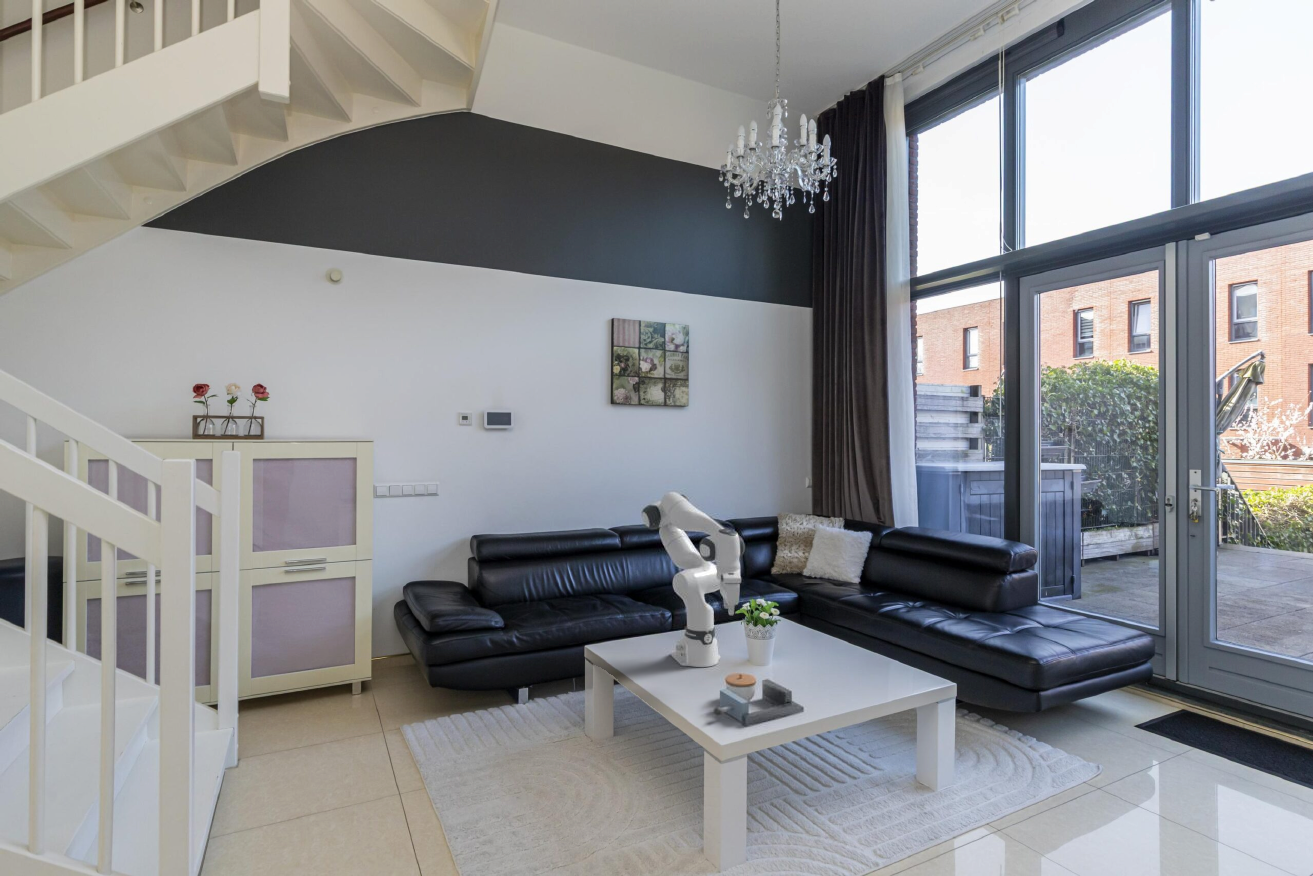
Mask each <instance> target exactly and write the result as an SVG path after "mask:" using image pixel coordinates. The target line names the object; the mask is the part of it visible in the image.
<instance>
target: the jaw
mask: <svg viewBox="0 0 1313 876" xmlns="http://www.w3.org/2000/svg"><path fill="white" fill-rule="evenodd" d="M749 709H750V708H749V703H748V701H746V700H744V699H743V698H741V697H739V696H737V695H736V694H734V693H732V692H731V691H729V690H727V689H726V688H722V689H720V690H719V707H717V706H716V707H715V708H714V709H713V713H714V714H715V715H716V716H721V714H722V713H727V714H729V715H730V716H731V717H733V718H735V719H737V720H738V721H739V722H741V723H742V715H744V714H748V713H750V712H749Z"/></svg>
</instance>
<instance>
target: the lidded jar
mask: <svg viewBox="0 0 1313 876" xmlns="http://www.w3.org/2000/svg"><path fill="white" fill-rule="evenodd" d="M756 686H757V679H756V677H755V676H754V675H752V674H748V673H741V672H740V673H732V674H728V675H726V677H725V689H727V690H729V691H731V692H732V693H734V694H736V695H737V696H739V697H741V698H743V699H744V700H746V701H748V704H749V703H750V701H751V700H752V699H753V698H754V696H755V694H756V689H757V688H756Z"/></svg>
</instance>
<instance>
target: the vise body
mask: <svg viewBox="0 0 1313 876" xmlns="http://www.w3.org/2000/svg"><path fill="white" fill-rule="evenodd" d="M761 684H762V685H761V687H762V689H761V690H762V691H761V692H762V693H761V695H762V697H761V698H762V700H764V701H766V702H768V703H770V704H771V705H773V706H772V707H769V708H765V709H761V710H756V711H753V712H749V713H748V714H744V715H742V722H741V725H742V726H744V727H745V728H746V727H750V726H754V725H757V724H761V723H764V722H769V721H774V720H776V719H780V718H783V717H788V716H791V715H796V714H799V713H803V712H804V711H805V710H804V706H803V705H801V704H800V703H797V702H795V701H793V700H792V699H793V696H792V695H793V693H792V692H793V691H792V690H790V689H787V687H784V686H782V685H780V684H778V683H776V682H774V681H772V680H770V679H769V678H767V679H763V680H762V681H761Z"/></svg>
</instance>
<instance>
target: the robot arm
mask: <svg viewBox="0 0 1313 876" xmlns="http://www.w3.org/2000/svg"><path fill="white" fill-rule="evenodd" d="M641 518H642V522H643V523H644V525H645V527H646V528H647V529H649V530H657V529H659V532H658V533H659V537H660V539H661V543H662V545H663V546H664V549H665V551H666V552H667V554H668V556H669V557H670V559H671V561H672V563H674V565H675V567H678V568H679V569H682V570H681V571H680V572H677V573H676V574H675V575H674V576H673V578H672V587H673V590H674V592H675V593H676V595H678V596H679V597H680V598H681V599H682V600H683V603H684V606H685V611H686V626H685V627H684V630H685V631H684V635H683V636H682V637H681V638H679V639H678V640H676V641H677V642H676V646H675V650H672V651H671V652H670V656H671V657H672V658H673V659H674V661H676V662H677V663H678V664H679V665H680V666H682V667H683V666H684V667H687V666H688V667H695V668H706V667H713V666H715V665H717V664H718V663H719V660H720V659H721V655H720V654H719V651H718V649H719V648H718V640H717V637H716V628H715V625H714V623H715V619H714V618H715V617H714V613H715V612H714V608H713V606H711V605H710V604H709V603H707V602H706V599H705V594H709V593H714V592H716V591H719V593H720V595H721V596H722V600H723V607H724V609H727V611H728V616H734V614H735V606H736V605H737V606H738V604H739V601H740V586H741V585H740V584H741V583H742V576H741V562H740V559H741V558H742V557H743V555H744V552H745V549H746V545H745V542H744V539H743V538H742V537H741V536H740V534H738V532H737V531H735V530H734V529H730V528H729V529H728V528H727V527H725V525H722V524H721V523H720V522H719V521H717V520H716V519H715V518H713V517H712V516H710V515H708V514H707V513H705V512H703V511H701V510H700V509H698V508H697V507H696V506H694V505H693V504H692V503H691V502H690V499H688V497H687V496H686V495H684V494H680V493H678V492H676V491H670V492H667V493H665V494H664V495H663V496H662V497H661V500H658V501H656V502H654V503H652V504H649V505H647V506H645V507H644V508H643V509H642V511H641ZM686 532H695V533H697V532H698V533H705V534H707V535H709V536H706V537H703V538H701V541H700V542H699V546H698V549H697V548H696V547H695V545H694V544H693V542H692V541H691V539H690V537H689V536H688V534H687V533H686ZM714 562H716V564H714Z"/></svg>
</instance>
